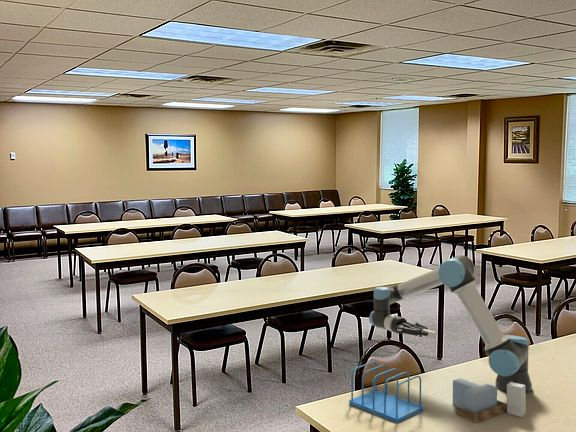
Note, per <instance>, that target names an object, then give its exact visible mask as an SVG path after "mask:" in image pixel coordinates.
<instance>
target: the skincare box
mask: <svg viewBox="0 0 576 432" xmlns="http://www.w3.org/2000/svg"><path fill="white" fill-rule="evenodd" d="M526 394H527V393H526V392H525V385H523V384H518V383H514V382H510V383H508V384H507V392H506V404H507V412H506V414H509V415H512V416H515V417H520V418H523V417H524V416H525V415H526V414H527V413H526V411H527V410H526V407H527V406H526V403H527V401H526V399H527V397H526Z"/></svg>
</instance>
